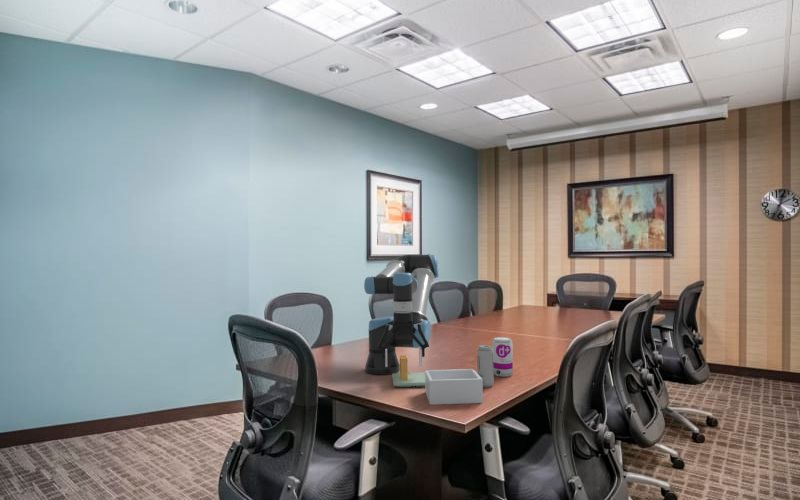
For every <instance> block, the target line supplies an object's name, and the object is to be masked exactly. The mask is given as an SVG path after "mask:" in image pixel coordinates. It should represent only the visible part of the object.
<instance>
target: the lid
mask: <svg viewBox="0 0 800 500" xmlns="http://www.w3.org/2000/svg"><path fill="white" fill-rule="evenodd" d="M399 365H400V371H399V372H397V373H392V374H391V377H392V383H393V386H394V387H397V388H407V387H408V388H411V387H412V386H413V388H414V387H415V386H416V388H417V387H425V371H423V372H408V357H407V355H404V354H403V355H399Z"/></svg>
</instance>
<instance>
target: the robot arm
mask: <svg viewBox="0 0 800 500" xmlns="http://www.w3.org/2000/svg"><path fill="white" fill-rule="evenodd" d="M437 258H438V257H437V255H436V254H430V253H428V254H405V255H404V254H403V255H400V256H398V257H395V258H393V259H392V260H389V262H388V263H387V264H386V267H385V268H384V269H383V270H381V271H380V272H379V273H378V274H377V275H376V276H373V275H372V276H367V277H366V278H365V279H364V284H363V286H364V287H363V288H364V292H365V293H366V295H373V296H374V295H382V296H383V295H385V296H386V295H388V296H389V295H392V296H393V299H392V300H393V301H392V302H393V309H392V310H393V316H392V315H391V316H382V317H381V316H380V317H375V318H373V319H371V320H370V321H369V322H368V330H367V331H368V356H367V359H366V361H365V366H364V368H365V369H364V371H365V373H367V372H368V373H367V374H370V373H372V374H371V375H376V374H386V375H392V373H400V361H399V359H398V356H397V353H396V348H409V349H410V348H411V349H413V348H414V349H418V352H419V353H418V354H419V355H418V356H419V363H418V364H419V367H423V358H424V357H425V354H426V353H425V349H426V348H429V347H430V345H429V343H430V340H431V339H430V338H431V333H432V324H431V322H430V321H429V319H428V317H427V311H428V310H427V308H428V304H429V303H428V302H429V297H430V296H429V295H430V291H431V284H432V283H433V282H434V281H435V279H437V278H439V276H440V275H439V262H438V259H437Z"/></svg>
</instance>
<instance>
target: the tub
mask: <svg viewBox="0 0 800 500" xmlns="http://www.w3.org/2000/svg"><path fill="white" fill-rule="evenodd" d="M424 372H425V386H424V389H425V390H424V392H425V395H426V398H427V400H428V402H429V405H458V404H459V405H460V404H463V405H464V404H483V403H484V395H483V393H484V387H483V379H482V378H481V377H480V376H479V375H478V371H476V370H475V369H474V368H462V369H461V368H460V369H458V368H456V369H455V368H454V369H453V368H452V369H425V370H424Z"/></svg>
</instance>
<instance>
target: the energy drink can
mask: <svg viewBox="0 0 800 500" xmlns="http://www.w3.org/2000/svg"><path fill="white" fill-rule="evenodd" d="M476 352H477V353H476V357H477V358H476V359H477V362H476V363H477V364H476V365H477V373H478V375H479V376H480V377H481V378H482V379H483V388H492V387H493V385H494V384H495V383H494V379H495V378H494V376H495V375H494V373H493V350H492V345H489V344H488V345H487V344H481V345H478V349H477V351H476Z"/></svg>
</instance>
